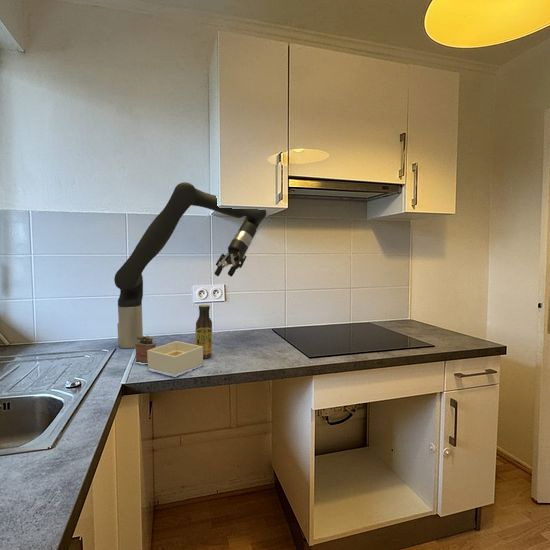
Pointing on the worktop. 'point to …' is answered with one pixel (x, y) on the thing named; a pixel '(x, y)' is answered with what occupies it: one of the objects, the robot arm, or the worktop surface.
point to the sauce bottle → (204, 331)
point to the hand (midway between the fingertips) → (222, 275)
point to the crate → (175, 357)
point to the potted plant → (143, 348)
